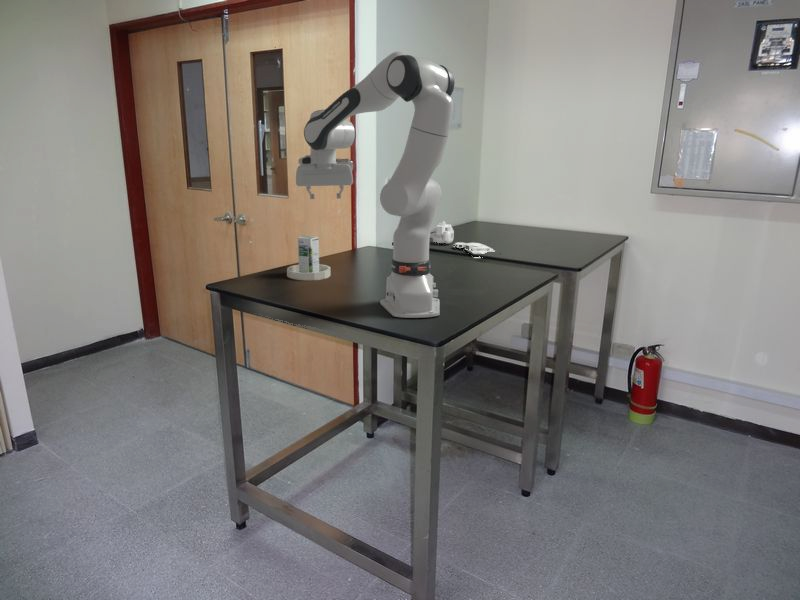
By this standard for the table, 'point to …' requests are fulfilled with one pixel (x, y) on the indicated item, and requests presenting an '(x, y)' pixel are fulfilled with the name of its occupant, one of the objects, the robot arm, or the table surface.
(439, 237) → the mechanical part
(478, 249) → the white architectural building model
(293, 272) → the round bowl
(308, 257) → the syrup box
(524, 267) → the table surface
